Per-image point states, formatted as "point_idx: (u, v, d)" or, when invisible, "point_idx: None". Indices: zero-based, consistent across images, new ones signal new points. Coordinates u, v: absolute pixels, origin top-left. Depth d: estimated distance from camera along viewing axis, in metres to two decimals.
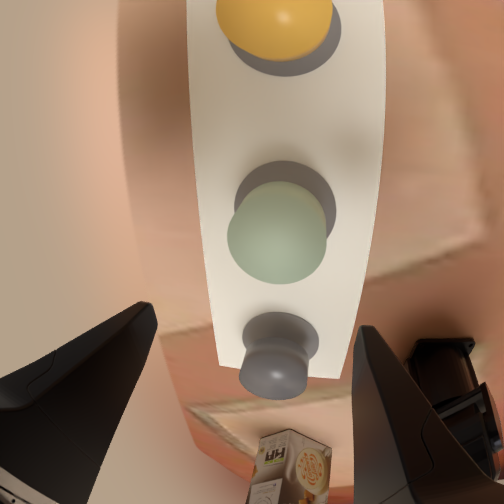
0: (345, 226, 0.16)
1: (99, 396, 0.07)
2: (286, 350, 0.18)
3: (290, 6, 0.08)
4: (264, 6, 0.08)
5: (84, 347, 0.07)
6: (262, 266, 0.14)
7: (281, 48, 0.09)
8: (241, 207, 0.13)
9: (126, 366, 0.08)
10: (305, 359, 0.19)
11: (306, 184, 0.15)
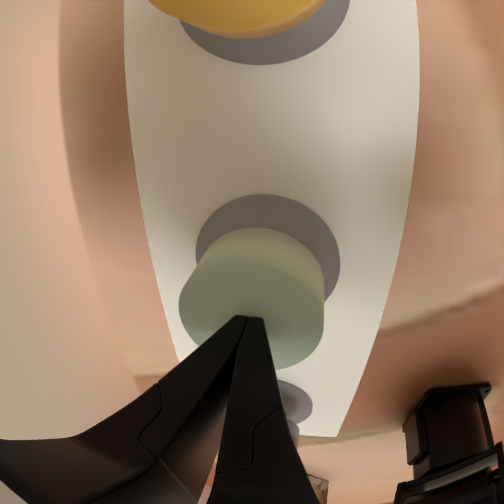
0: (352, 285, 0.11)
1: (209, 429, 0.06)
2: None
3: None
4: None
5: (196, 376, 0.06)
6: None
7: (243, 8, 0.04)
8: (194, 276, 0.08)
9: None
10: (294, 434, 0.14)
11: (297, 229, 0.11)
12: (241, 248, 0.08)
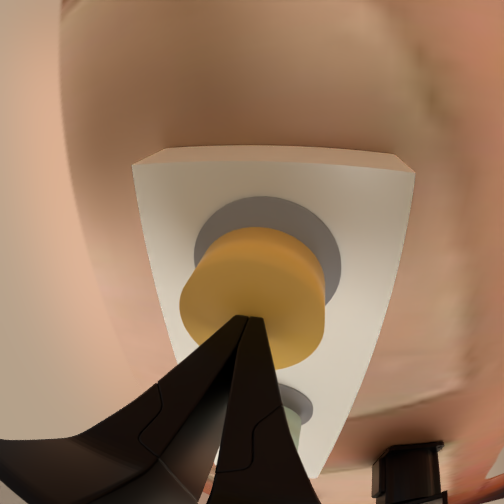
0: (321, 417, 0.16)
1: (209, 429, 0.06)
2: None
3: (271, 328, 0.09)
4: None
5: (196, 376, 0.06)
6: None
7: None
8: None
9: None
10: None
11: (285, 398, 0.15)
12: None
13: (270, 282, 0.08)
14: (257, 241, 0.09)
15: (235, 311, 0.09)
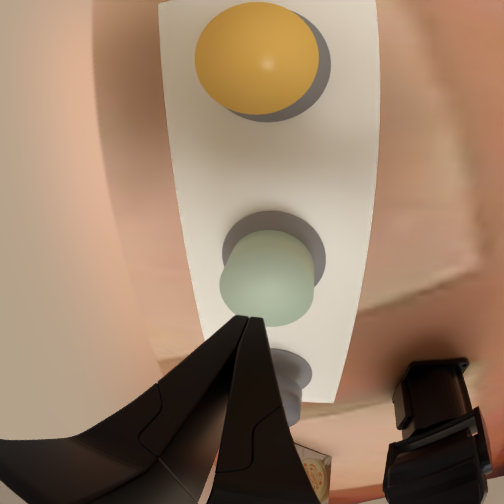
0: (335, 273, 0.16)
1: (209, 429, 0.06)
2: (279, 387, 0.18)
3: (273, 56, 0.09)
4: (245, 57, 0.09)
5: (196, 376, 0.06)
6: (254, 312, 0.15)
7: (264, 105, 0.10)
8: (231, 261, 0.13)
9: None
10: (298, 393, 0.19)
11: (294, 234, 0.15)
12: (260, 243, 0.14)
13: (270, 15, 0.08)
14: None
15: (243, 45, 0.09)
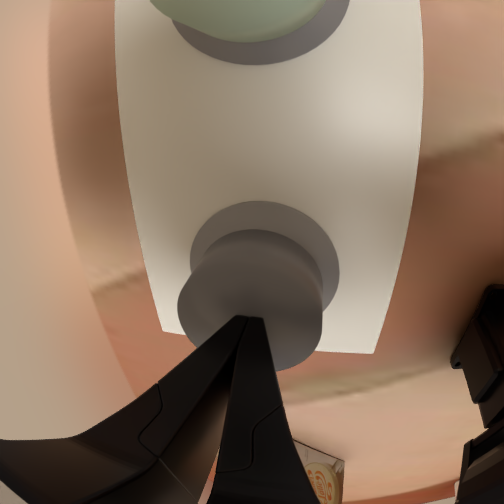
0: (371, 8, 0.06)
1: (209, 429, 0.06)
2: (274, 249, 0.09)
3: None
4: None
5: (196, 376, 0.06)
6: None
7: None
8: None
9: None
10: (316, 276, 0.09)
11: None
12: None
13: None
14: None
15: None
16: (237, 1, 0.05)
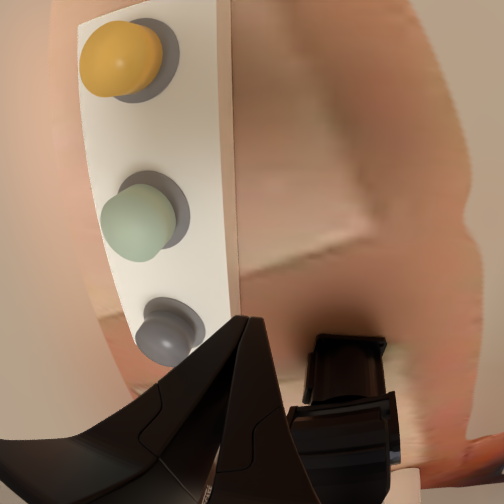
0: (200, 223, 0.19)
1: (209, 429, 0.06)
2: (167, 321, 0.22)
3: (118, 56, 0.12)
4: (104, 60, 0.12)
5: (196, 376, 0.06)
6: (125, 248, 0.18)
7: (114, 90, 0.13)
8: (105, 205, 0.16)
9: None
10: (186, 331, 0.22)
11: (162, 188, 0.18)
12: (125, 191, 0.16)
13: (118, 28, 0.11)
14: None
15: (103, 52, 0.12)
16: (135, 253, 0.18)
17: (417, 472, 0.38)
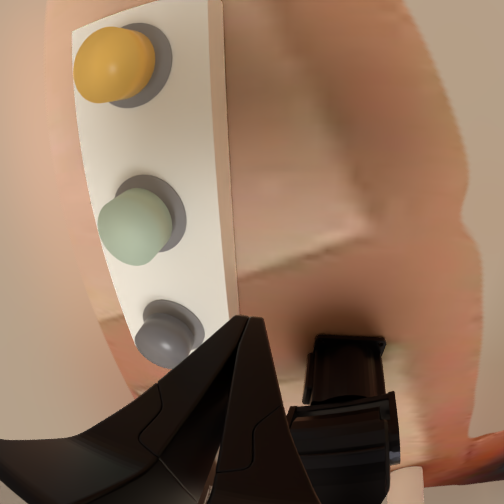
0: (196, 226, 0.19)
1: (209, 429, 0.06)
2: (166, 323, 0.22)
3: (111, 62, 0.12)
4: (97, 66, 0.12)
5: (196, 376, 0.06)
6: (122, 252, 0.18)
7: (107, 95, 0.13)
8: (101, 209, 0.17)
9: None
10: (185, 333, 0.22)
11: (158, 192, 0.18)
12: (121, 195, 0.17)
13: (110, 34, 0.11)
14: None
15: (96, 58, 0.12)
16: (132, 256, 0.18)
17: (420, 470, 0.38)
